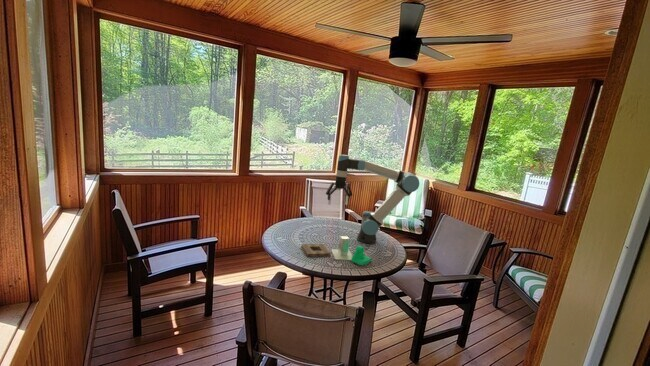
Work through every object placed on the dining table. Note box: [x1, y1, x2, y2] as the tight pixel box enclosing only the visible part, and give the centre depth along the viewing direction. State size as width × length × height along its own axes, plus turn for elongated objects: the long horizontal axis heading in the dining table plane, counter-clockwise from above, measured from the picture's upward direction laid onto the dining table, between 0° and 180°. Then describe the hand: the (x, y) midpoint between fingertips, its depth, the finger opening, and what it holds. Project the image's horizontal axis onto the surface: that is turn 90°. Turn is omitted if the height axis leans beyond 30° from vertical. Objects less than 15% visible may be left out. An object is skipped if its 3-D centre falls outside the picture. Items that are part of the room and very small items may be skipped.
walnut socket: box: [301, 243, 332, 258], centre depth 205 cm, size 16×16×2 cm
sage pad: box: [331, 248, 353, 261], centre depth 205 cm, size 13×16×1 cm
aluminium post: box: [337, 235, 351, 256], centre depth 204 cm, size 5×5×12 cm
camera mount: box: [350, 245, 372, 266], centre depth 196 cm, size 12×8×10 cm, turn 137°
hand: (337, 204), depth 222 cm, fingers open, 13 cm apart
